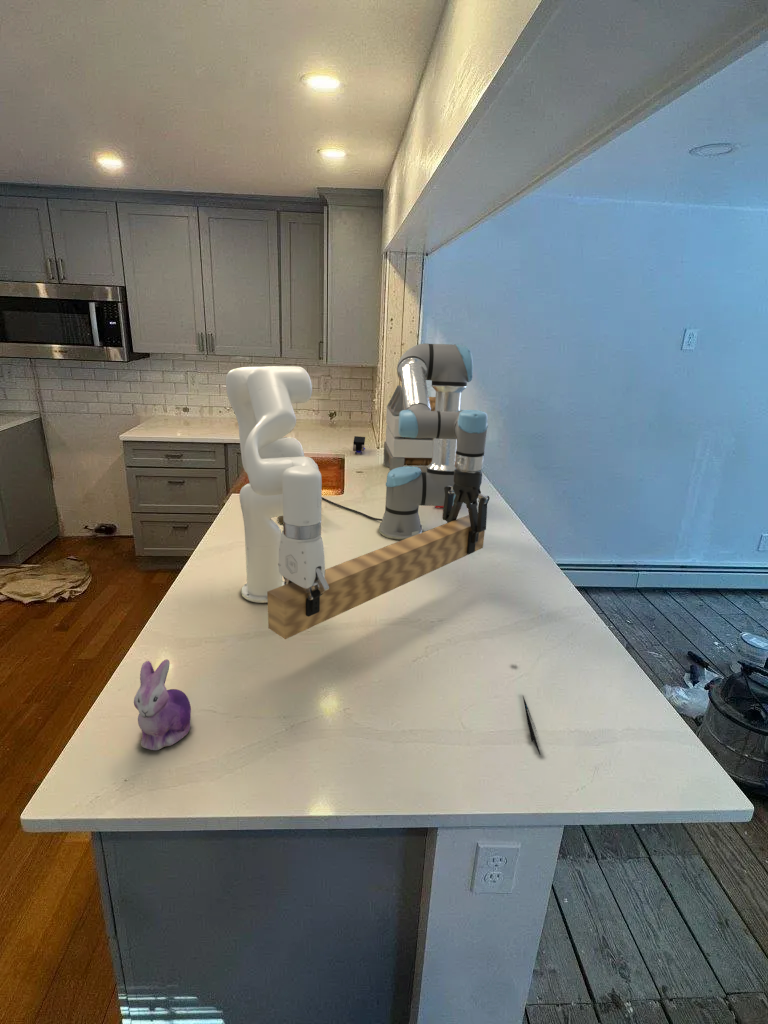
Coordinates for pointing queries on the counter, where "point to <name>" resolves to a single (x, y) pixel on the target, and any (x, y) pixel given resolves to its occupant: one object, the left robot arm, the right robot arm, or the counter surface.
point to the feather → (530, 725)
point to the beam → (370, 576)
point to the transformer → (404, 438)
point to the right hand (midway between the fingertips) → (461, 549)
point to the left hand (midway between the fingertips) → (302, 607)
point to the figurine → (160, 708)
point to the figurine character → (358, 444)
